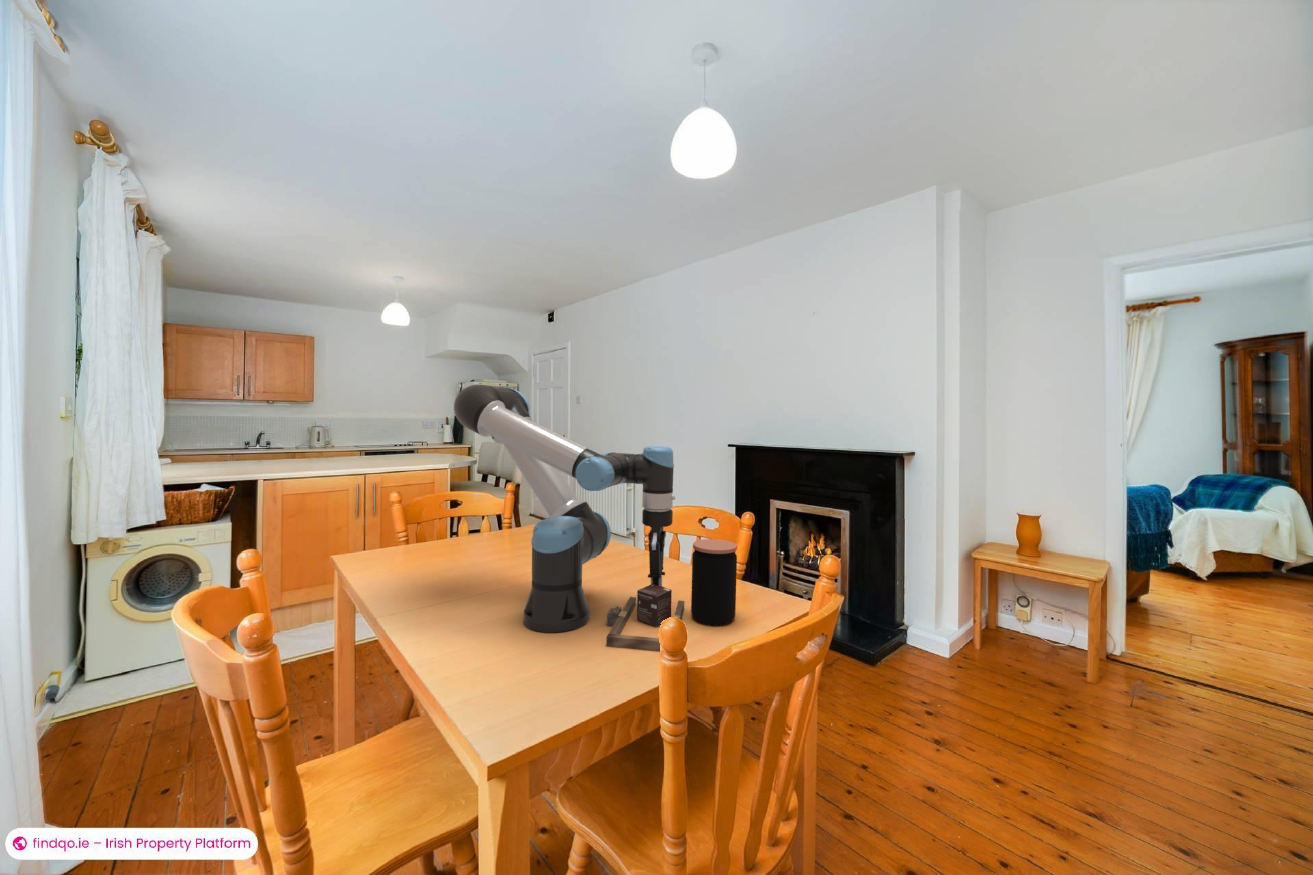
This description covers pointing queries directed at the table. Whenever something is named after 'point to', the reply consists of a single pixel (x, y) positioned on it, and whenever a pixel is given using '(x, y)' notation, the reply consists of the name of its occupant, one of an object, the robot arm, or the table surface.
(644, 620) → the box
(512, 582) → the table surface
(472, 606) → the table surface
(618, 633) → the brown angular bar frame
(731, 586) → the coffee jar
